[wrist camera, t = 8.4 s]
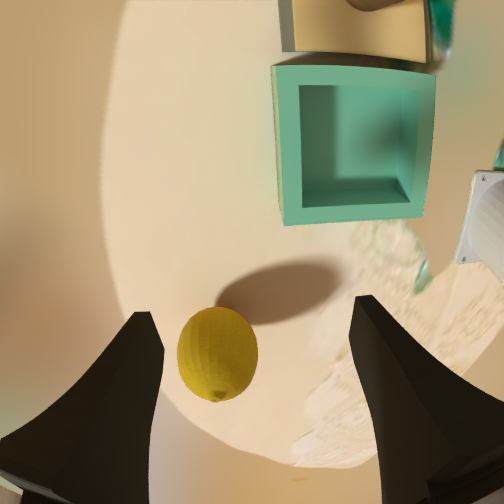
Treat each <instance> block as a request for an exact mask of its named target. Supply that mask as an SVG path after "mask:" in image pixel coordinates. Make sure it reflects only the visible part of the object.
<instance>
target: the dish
mask: <svg viewBox="0 0 504 504" xmlns="http://www.w3.org/2000/svg"><path fill="white" fill-rule="evenodd" d="M270 68H271V81H272V95H273V110H274V126H275V143H276V161H277V180H278V201H279V207H280V211H281V216H282V220H283V224H284V226H291V225H305V224H320V223H335V222H351V221H367V220H385V219H403V218H421V217H422V215H423V210H424V204H425V198H426V190H427V184H428V177H429V169H430V160H431V151H432V140H433V127H434V113H435V85H436V75H430V74H423V73H416V72H409V71H401V70H393V69H383V68H372V67H358V66H338V65H280V66H270Z"/></svg>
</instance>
